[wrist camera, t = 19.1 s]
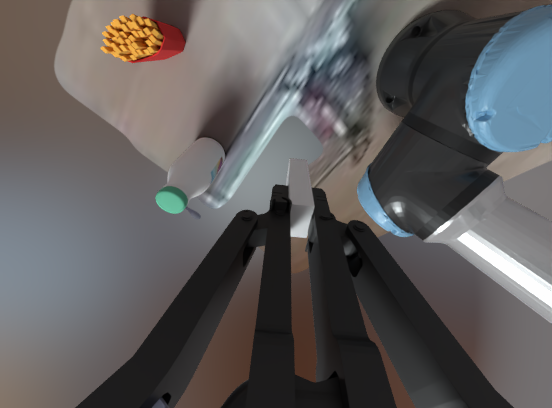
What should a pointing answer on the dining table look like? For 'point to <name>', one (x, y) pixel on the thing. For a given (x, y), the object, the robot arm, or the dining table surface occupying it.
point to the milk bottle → (191, 174)
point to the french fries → (142, 39)
